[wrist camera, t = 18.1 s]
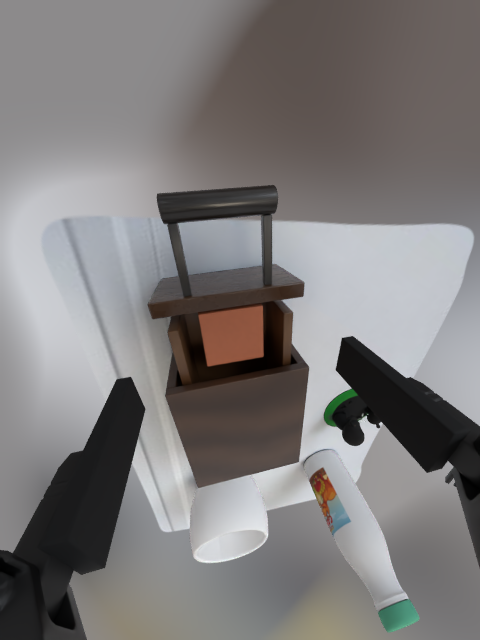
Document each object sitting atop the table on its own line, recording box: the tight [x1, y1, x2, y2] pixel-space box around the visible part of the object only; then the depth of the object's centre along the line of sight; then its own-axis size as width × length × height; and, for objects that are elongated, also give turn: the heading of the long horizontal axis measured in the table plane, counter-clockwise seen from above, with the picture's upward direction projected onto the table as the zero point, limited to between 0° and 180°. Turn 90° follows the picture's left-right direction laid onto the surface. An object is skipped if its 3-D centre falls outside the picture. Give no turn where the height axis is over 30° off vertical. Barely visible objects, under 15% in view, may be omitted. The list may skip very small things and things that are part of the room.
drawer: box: [148, 185, 304, 386], centre depth 19 cm, size 21×11×6 cm, turn 4°
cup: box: [190, 475, 268, 563], centre depth 34 cm, size 12×12×10 cm
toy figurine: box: [324, 389, 381, 446], centre depth 34 cm, size 10×10×6 cm
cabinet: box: [165, 343, 309, 488], centre depth 25 cm, size 16×13×8 cm
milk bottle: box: [304, 450, 419, 632], centre depth 34 cm, size 8×8×20 cm
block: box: [198, 303, 264, 366], centre depth 19 cm, size 5×5×5 cm
